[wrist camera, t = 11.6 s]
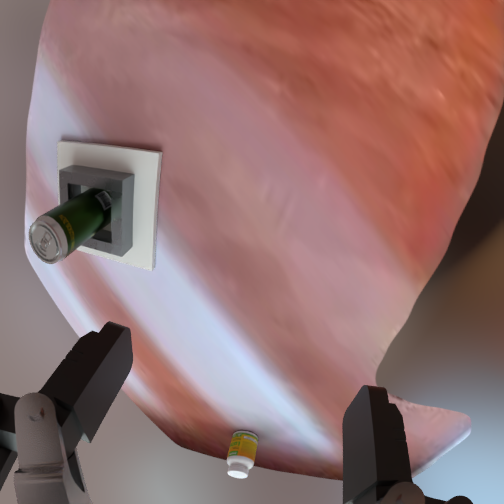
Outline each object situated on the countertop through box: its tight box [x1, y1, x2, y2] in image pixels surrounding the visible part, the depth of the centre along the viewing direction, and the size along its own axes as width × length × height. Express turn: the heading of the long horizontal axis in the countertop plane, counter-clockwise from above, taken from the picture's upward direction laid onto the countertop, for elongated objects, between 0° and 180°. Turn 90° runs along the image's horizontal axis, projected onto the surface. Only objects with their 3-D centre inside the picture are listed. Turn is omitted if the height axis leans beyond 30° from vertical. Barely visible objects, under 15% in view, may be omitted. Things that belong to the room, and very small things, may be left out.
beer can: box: [29, 188, 111, 264], centre depth 33 cm, size 5×5×12 cm
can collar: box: [59, 165, 135, 257], centre depth 37 cm, size 10×10×3 cm
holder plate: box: [57, 140, 162, 271], centre depth 39 cm, size 16×16×1 cm
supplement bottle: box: [227, 431, 258, 478], centre depth 55 cm, size 5×5×10 cm
